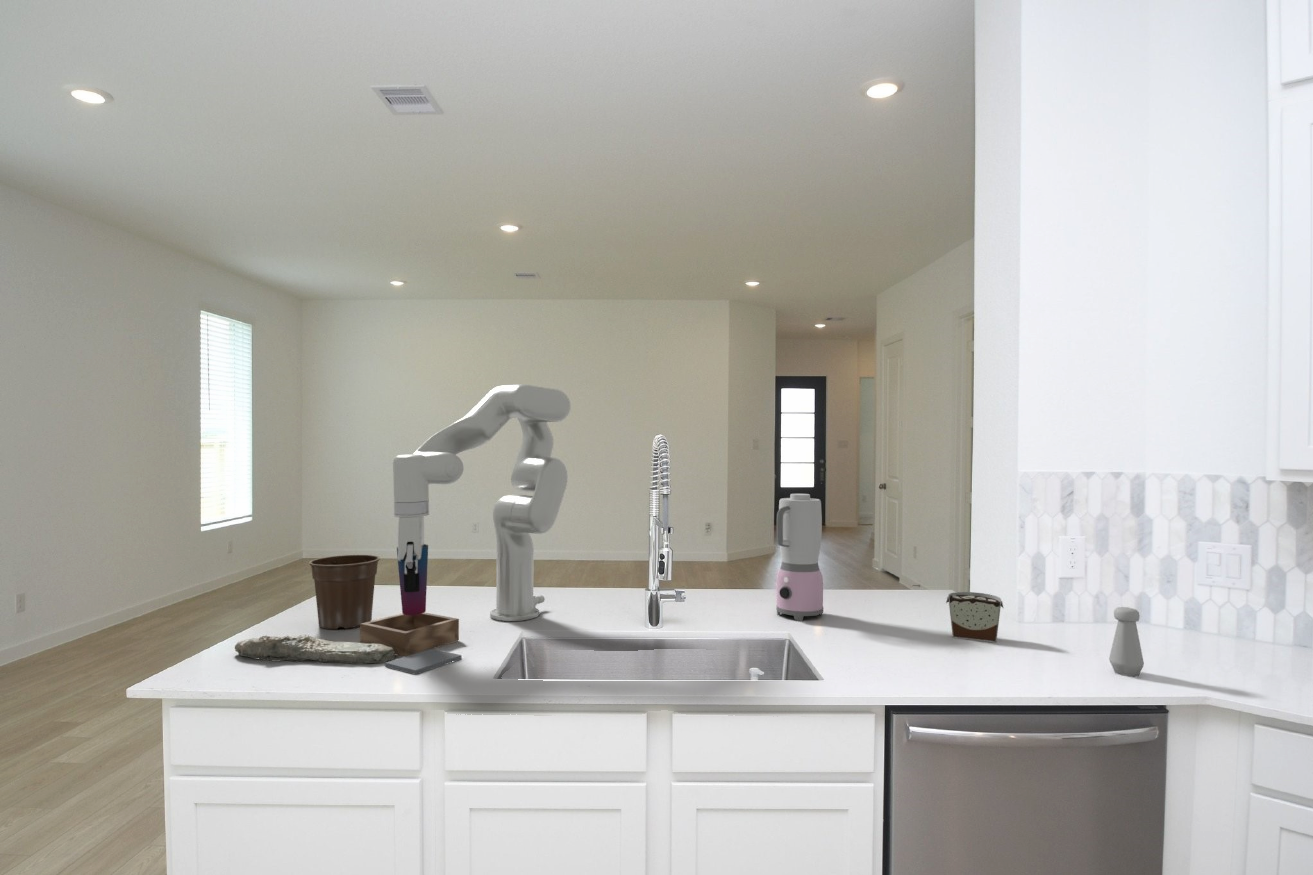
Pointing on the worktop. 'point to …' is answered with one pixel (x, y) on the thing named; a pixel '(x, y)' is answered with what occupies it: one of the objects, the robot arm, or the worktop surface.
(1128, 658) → the salt shaker
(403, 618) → the open wooden box
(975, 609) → the food container
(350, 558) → the plant pot
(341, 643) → the long grey stone
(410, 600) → the cup
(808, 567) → the blender
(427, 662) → the slate mat
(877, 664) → the worktop surface
